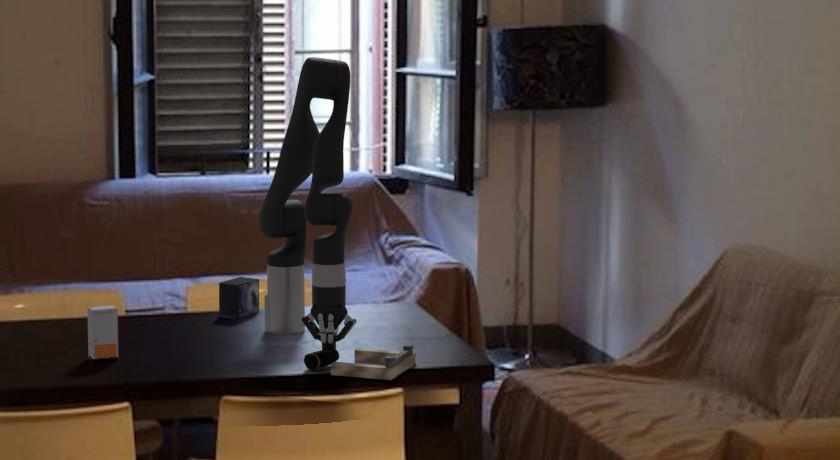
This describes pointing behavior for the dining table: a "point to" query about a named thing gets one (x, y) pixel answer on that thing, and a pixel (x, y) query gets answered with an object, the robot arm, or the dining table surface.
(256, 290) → the small box
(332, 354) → the tape measure
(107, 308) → the skincare box
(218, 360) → the dining table surface
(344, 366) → the tan piece
